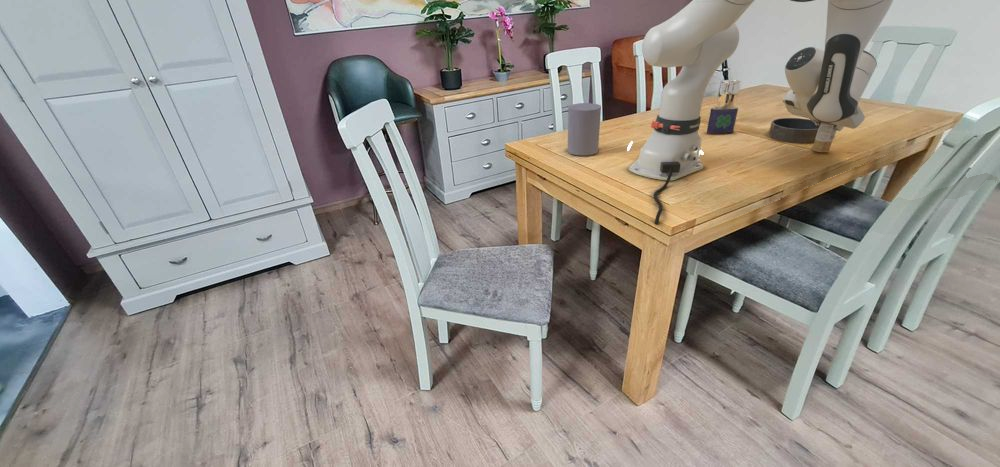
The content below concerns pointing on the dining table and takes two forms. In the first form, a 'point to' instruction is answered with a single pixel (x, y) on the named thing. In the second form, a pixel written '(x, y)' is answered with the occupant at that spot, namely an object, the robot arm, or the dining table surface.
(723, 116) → the blue clover tile
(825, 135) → the sprinkles bottle
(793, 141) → the pan
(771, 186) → the dining table surface
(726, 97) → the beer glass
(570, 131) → the container
